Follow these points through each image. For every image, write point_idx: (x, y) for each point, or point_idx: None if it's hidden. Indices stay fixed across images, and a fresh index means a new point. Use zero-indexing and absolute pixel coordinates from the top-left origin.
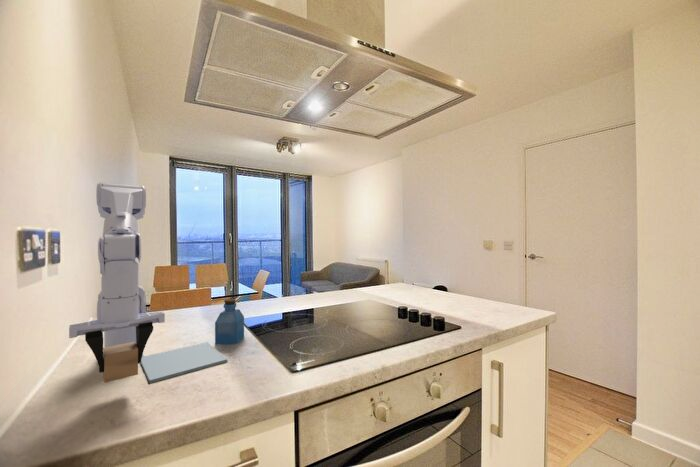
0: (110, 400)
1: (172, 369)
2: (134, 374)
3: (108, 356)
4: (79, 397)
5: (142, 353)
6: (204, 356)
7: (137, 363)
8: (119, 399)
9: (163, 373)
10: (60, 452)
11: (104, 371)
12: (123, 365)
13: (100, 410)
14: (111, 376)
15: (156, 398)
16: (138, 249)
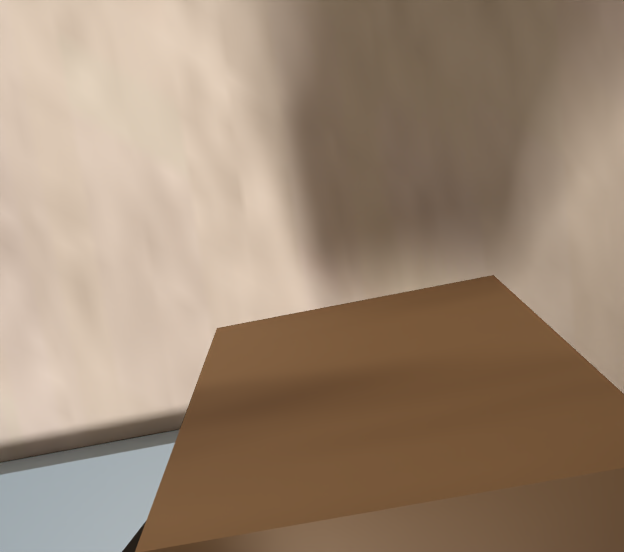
0: (408, 289)
1: (55, 542)
2: (245, 325)
3: (604, 446)
4: None
5: (133, 540)
6: None
7: (198, 386)
8: (354, 273)
9: (109, 507)
10: None
11: (545, 323)
12: (350, 368)
13: (453, 164)
14: (450, 301)
15: (102, 146)
16: None
